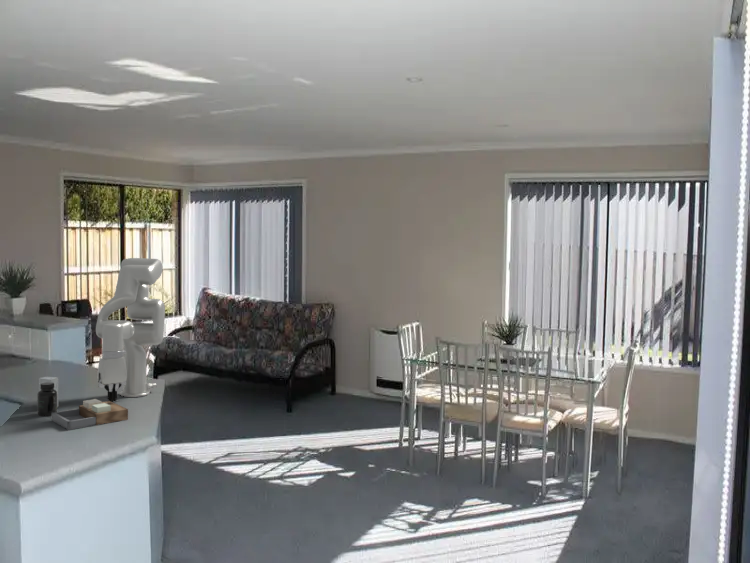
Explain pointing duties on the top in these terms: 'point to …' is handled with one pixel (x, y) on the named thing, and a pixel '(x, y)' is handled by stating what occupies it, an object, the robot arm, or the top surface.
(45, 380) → the skincare box
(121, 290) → the robot arm
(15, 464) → the top surface
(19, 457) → the top surface
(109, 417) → the board
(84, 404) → the tile cream
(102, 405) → the tile sage
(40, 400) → the supplement bottle
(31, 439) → the top surface
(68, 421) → the box
